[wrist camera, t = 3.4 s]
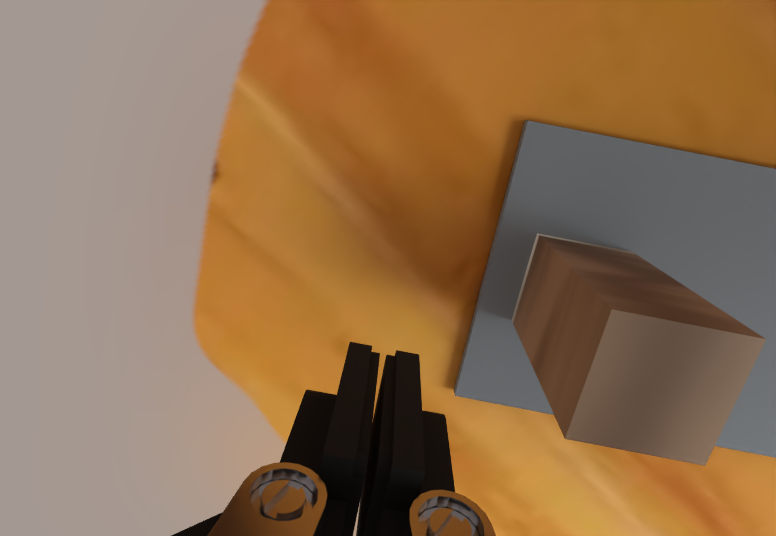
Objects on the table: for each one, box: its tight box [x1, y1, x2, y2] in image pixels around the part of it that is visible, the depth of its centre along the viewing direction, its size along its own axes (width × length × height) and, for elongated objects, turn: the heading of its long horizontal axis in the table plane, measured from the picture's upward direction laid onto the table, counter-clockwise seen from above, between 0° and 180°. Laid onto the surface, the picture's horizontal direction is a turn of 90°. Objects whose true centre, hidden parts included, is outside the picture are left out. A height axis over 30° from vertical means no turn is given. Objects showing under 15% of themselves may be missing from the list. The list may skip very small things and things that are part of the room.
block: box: [512, 233, 766, 466], centre depth 19 cm, size 4×4×9 cm
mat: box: [454, 120, 776, 458], centre depth 23 cm, size 22×14×1 cm, turn 79°
